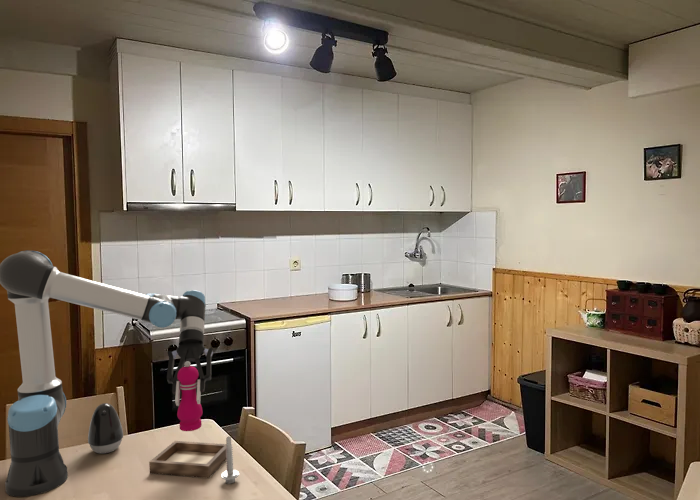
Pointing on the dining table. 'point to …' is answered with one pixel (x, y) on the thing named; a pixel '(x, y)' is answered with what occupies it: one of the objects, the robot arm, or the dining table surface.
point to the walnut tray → (189, 459)
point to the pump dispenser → (105, 429)
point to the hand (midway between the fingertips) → (187, 402)
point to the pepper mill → (189, 399)
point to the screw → (229, 464)
